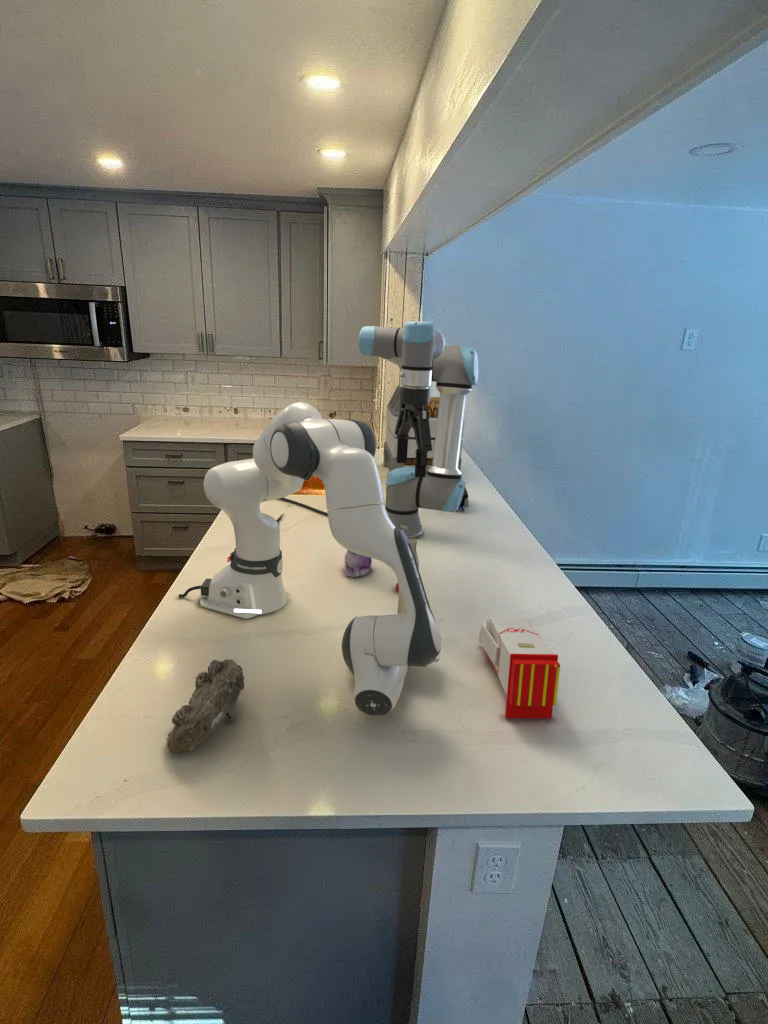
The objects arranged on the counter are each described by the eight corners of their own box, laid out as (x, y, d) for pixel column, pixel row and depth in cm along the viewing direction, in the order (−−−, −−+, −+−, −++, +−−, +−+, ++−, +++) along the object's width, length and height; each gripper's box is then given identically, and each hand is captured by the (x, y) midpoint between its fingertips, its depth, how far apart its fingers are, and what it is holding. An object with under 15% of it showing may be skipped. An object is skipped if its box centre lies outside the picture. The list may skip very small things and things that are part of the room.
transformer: (382, 463, 289) (386, 382, 275) (445, 464, 293) (451, 384, 279) (390, 482, 257) (394, 392, 243) (460, 483, 261) (468, 394, 247)
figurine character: (468, 516, 224) (463, 500, 237) (471, 498, 221) (465, 483, 234) (452, 515, 224) (447, 499, 237) (453, 498, 220) (449, 482, 234)
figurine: (350, 580, 164) (351, 532, 159) (336, 566, 172) (336, 520, 167) (379, 575, 168) (381, 528, 163) (364, 561, 176) (365, 516, 171)
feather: (290, 508, 223) (292, 504, 223) (272, 532, 197) (275, 527, 196) (286, 505, 223) (289, 501, 223) (268, 529, 197) (271, 525, 196)
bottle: (416, 626, 142) (421, 544, 134) (397, 626, 142) (402, 544, 134) (413, 617, 146) (419, 537, 139) (396, 617, 146) (400, 537, 138)
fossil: (192, 660, 117) (244, 628, 112) (224, 691, 120) (276, 661, 115) (142, 746, 98) (202, 712, 93) (182, 779, 101) (242, 748, 96)
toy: (525, 603, 136) (569, 660, 107) (520, 654, 139) (562, 725, 109) (475, 601, 135) (505, 659, 106) (471, 653, 138) (499, 724, 109)
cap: (408, 587, 162) (409, 581, 161) (411, 593, 158) (411, 587, 158) (394, 587, 161) (395, 581, 161) (397, 594, 158) (397, 588, 157)
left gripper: (439, 651, 116) (445, 617, 129) (342, 636, 119) (358, 605, 132) (437, 677, 118) (443, 641, 131) (342, 662, 121) (357, 629, 134)
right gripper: (385, 380, 151) (381, 458, 158) (420, 394, 128) (414, 484, 136) (411, 380, 153) (407, 457, 160) (450, 394, 131) (443, 482, 138)
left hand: (400, 623), depth 131 cm, fingers open, 8 cm apart
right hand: (410, 469), depth 148 cm, fingers open, 13 cm apart
